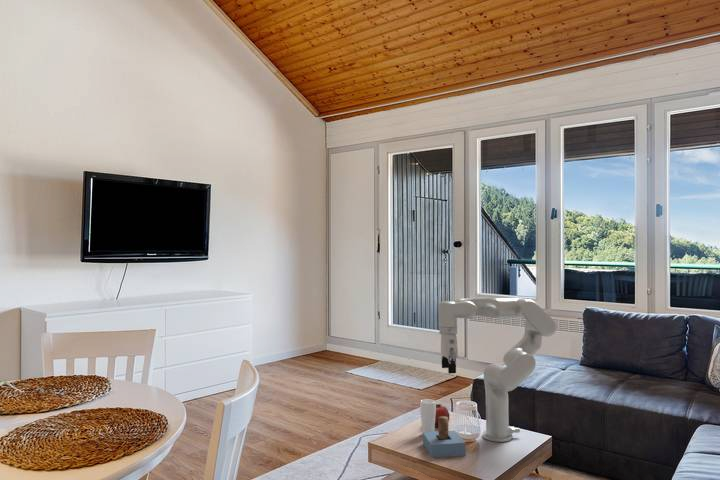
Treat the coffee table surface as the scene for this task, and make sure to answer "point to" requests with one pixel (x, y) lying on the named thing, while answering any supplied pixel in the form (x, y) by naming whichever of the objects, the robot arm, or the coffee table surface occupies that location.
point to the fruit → (440, 413)
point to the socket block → (444, 444)
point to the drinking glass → (428, 415)
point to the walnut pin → (443, 428)
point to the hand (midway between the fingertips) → (448, 370)
